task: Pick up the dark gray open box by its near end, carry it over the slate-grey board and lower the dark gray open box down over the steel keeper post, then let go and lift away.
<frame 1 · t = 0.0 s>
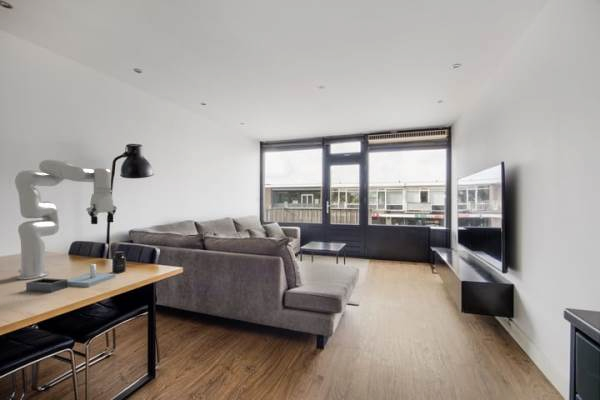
hand: (102, 223, 143), 31 cm above the table, tool pointing down, fingers open, 9 cm apart
dark gray open box: (47, 289, 130), on the table
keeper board: (89, 281, 142), on the table
supplement bottle: (119, 272, 160), on the table
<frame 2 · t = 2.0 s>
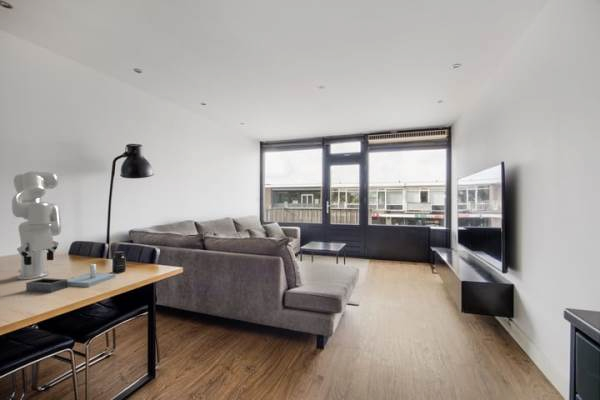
hand: (39, 262, 130), 13 cm above the table, tool pointing down, fingers open, 9 cm apart
nothing on the table moved.
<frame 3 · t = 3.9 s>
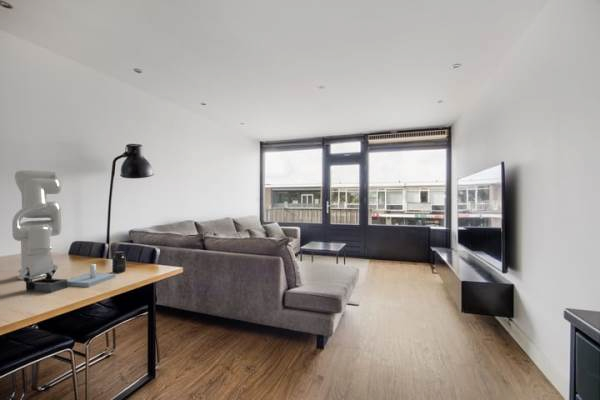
hand: (39, 286, 130), 1 cm above the table, tool pointing down, fingers closed on dark gray open box, 7 cm apart
dark gray open box: (47, 289, 130), on the table, touching gripper
everything else where it was.
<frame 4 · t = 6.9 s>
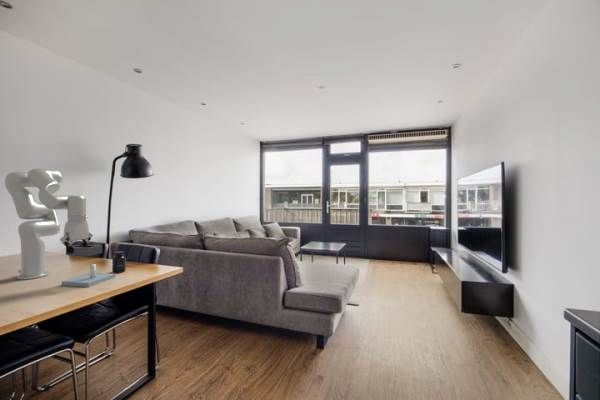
hand: (77, 251, 140), 16 cm above the table, tool pointing down, fingers closed on dark gray open box, 7 cm apart
dark gray open box: (84, 253, 140), point 15 cm above the table, touching gripper
everything else where it was.
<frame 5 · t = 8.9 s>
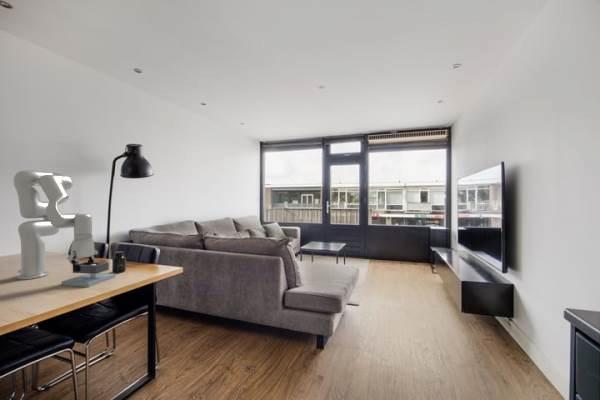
hand: (83, 269, 142), 6 cm above the table, tool pointing down, fingers closed on dark gray open box, 7 cm apart
dark gray open box: (91, 271, 142), point 5 cm above the table, touching gripper
everything else where it was.
when the fingers open (4 cm above the table, at t = 10.3 s): dark gray open box drops 1 cm, resting on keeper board.
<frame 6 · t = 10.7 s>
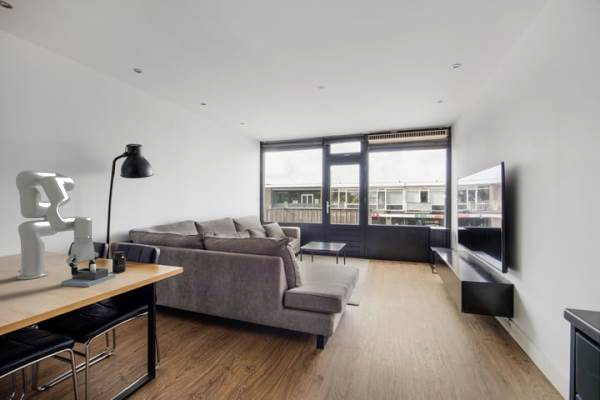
hand: (83, 271, 143), 5 cm above the table, tool pointing down, fingers open, 9 cm apart
dark gray open box: (90, 277, 142), point 2 cm above the table, touching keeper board
everything else where it was.
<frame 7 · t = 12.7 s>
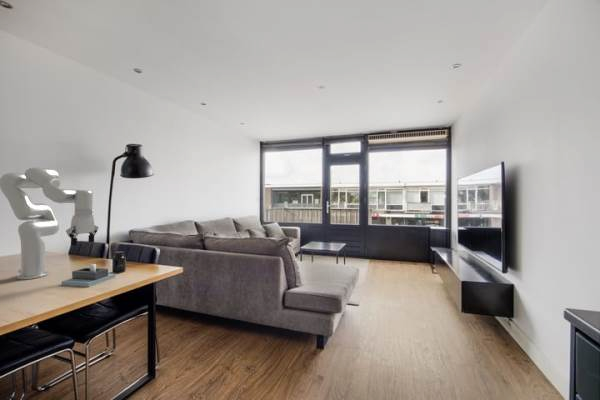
hand: (82, 243, 145), 20 cm above the table, tool pointing down, fingers open, 9 cm apart
nothing on the table moved.
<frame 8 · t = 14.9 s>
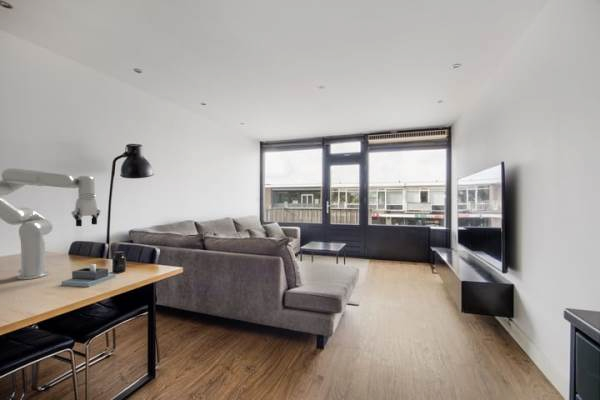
hand: (86, 225, 158), 28 cm above the table, tool pointing down, fingers open, 9 cm apart
nothing on the table moved.
at the end: dark gray open box 1.6 cm from the target spot on the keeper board, point 2.0 cm above the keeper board's base; the gripper is holding nothing; dark gray open box tilted 0° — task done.
